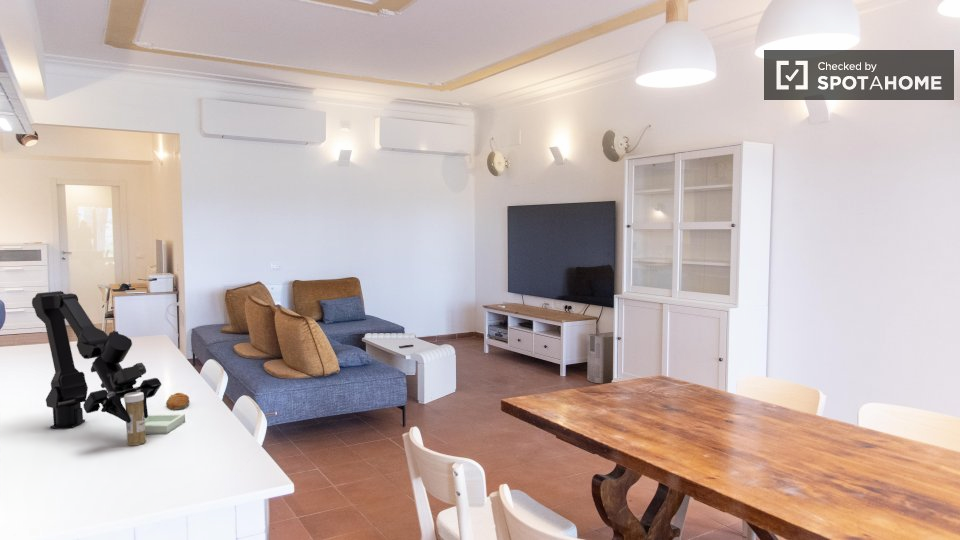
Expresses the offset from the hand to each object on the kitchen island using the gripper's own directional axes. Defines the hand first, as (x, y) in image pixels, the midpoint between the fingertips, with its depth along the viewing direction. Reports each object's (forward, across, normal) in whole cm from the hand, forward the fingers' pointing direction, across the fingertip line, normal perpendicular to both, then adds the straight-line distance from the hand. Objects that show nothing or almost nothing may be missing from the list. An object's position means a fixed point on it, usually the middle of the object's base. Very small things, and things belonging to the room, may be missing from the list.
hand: (138, 419), depth 170 cm
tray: (-2, +11, +11) cm, 15 cm away
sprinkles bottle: (+4, 0, +6) cm, 7 cm away
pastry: (-12, +28, +22) cm, 38 cm away
